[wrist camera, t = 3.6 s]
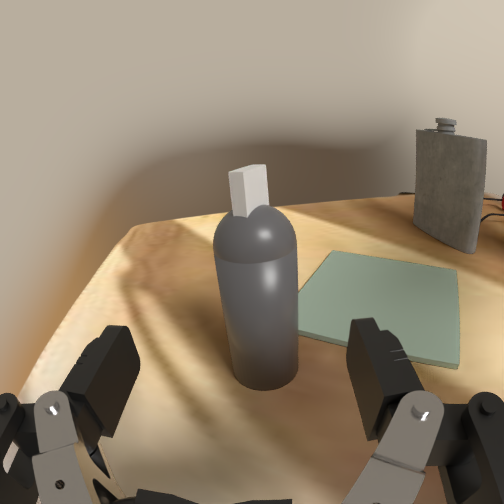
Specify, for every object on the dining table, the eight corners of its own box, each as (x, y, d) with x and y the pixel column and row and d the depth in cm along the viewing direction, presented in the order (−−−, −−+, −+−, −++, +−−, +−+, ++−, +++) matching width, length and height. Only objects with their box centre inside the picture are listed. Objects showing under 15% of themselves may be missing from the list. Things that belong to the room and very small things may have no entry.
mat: (332, 254, 43) (332, 250, 43) (455, 274, 34) (456, 270, 33) (273, 327, 29) (273, 322, 29) (457, 369, 20) (459, 364, 20)
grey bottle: (254, 339, 28) (236, 161, 21) (308, 355, 25) (307, 161, 19) (220, 376, 24) (183, 177, 17) (279, 399, 21) (265, 177, 15)
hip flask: (478, 251, 38) (490, 124, 30) (463, 256, 38) (475, 121, 30) (421, 220, 53) (424, 116, 45) (406, 222, 52) (408, 115, 44)
